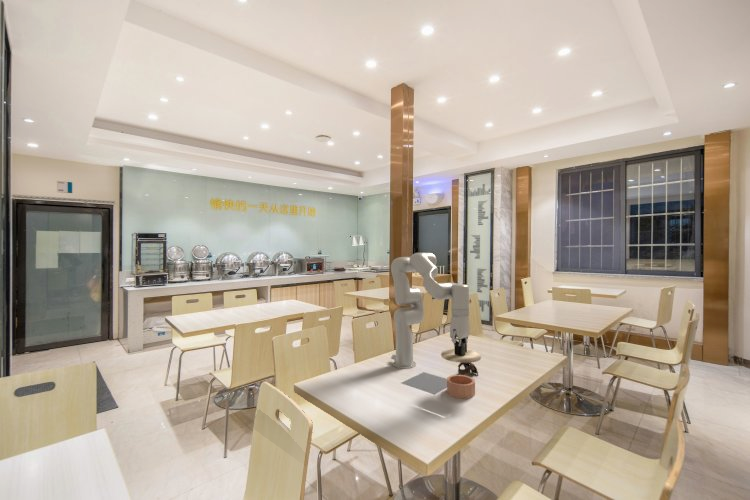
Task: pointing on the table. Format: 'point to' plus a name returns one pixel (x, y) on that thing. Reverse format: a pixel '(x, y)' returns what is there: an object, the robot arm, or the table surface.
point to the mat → (427, 383)
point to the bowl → (460, 386)
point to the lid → (463, 358)
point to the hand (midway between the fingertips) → (460, 352)
